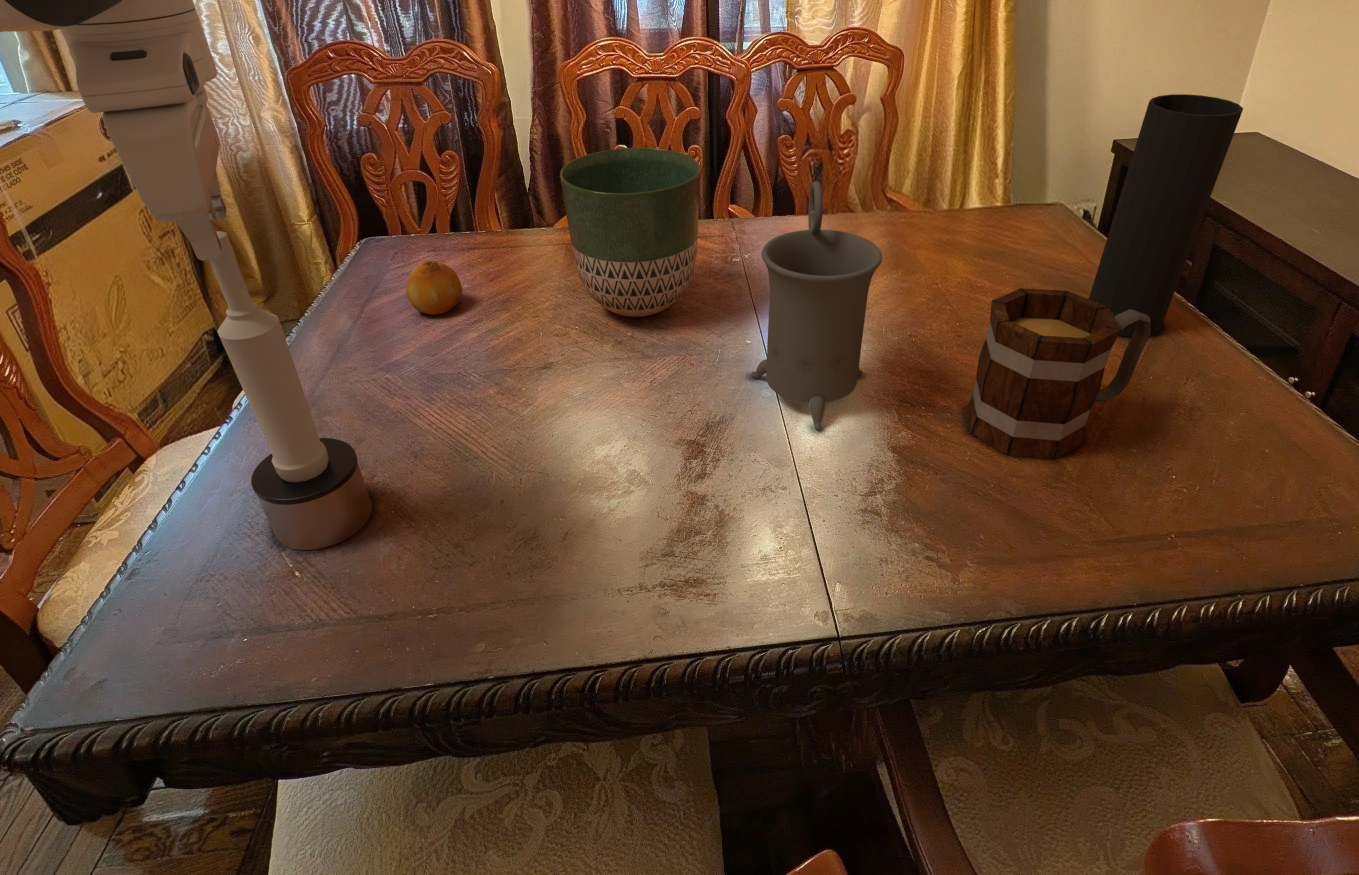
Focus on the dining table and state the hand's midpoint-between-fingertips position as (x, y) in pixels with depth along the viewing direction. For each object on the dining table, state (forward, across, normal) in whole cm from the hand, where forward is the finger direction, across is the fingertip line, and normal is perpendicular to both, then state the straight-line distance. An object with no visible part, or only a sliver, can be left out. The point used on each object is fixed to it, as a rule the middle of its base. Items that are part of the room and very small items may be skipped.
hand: (214, 235), depth 68 cm
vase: (+32, +3, +110) cm, 115 cm away
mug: (+32, +18, +82) cm, 90 cm away
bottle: (+25, 0, 0) cm, 25 cm away
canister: (+32, 0, 0) cm, 32 cm away
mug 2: (+32, 0, +60) cm, 68 cm away
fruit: (+32, -45, +19) cm, 58 cm away
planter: (+32, -31, +48) cm, 65 cm away
